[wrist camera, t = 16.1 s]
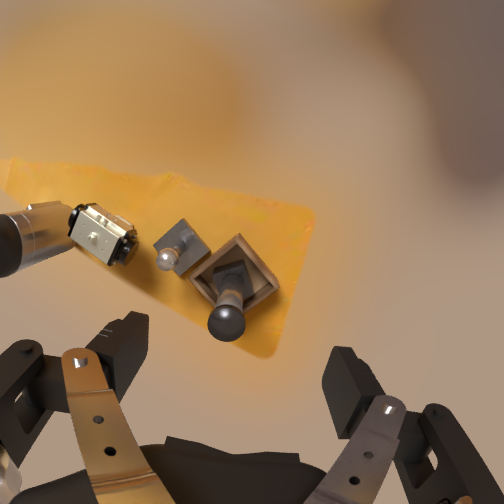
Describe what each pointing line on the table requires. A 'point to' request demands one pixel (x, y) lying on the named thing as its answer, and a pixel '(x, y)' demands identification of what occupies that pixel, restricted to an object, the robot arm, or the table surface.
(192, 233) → the stud mount
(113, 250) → the pneumatic rotary actuator
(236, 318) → the strut
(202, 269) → the bin
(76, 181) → the table surface
